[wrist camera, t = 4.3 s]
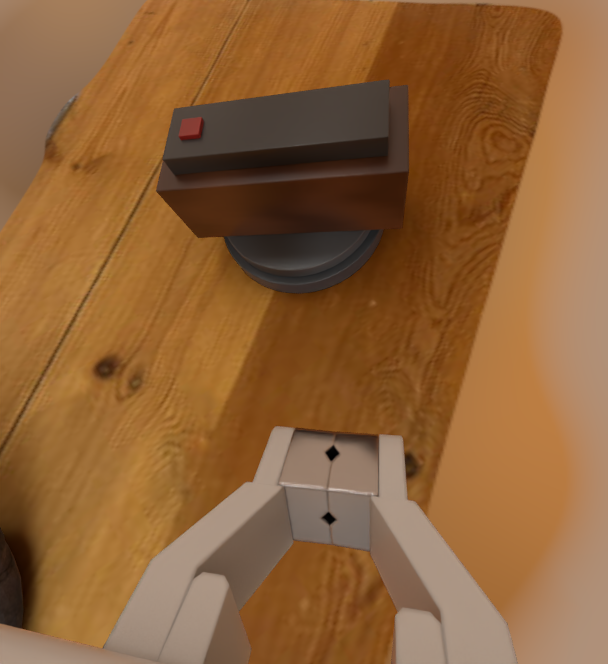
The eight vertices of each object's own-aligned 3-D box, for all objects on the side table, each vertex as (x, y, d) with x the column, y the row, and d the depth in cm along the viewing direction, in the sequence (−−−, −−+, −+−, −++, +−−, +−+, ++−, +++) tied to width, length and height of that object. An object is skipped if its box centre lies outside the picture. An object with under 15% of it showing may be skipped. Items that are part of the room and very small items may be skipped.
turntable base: (384, 293, 23) (384, 283, 22) (220, 294, 26) (210, 286, 24) (386, 148, 27) (386, 132, 25) (240, 162, 29) (233, 148, 28)
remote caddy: (401, 135, 25) (410, 17, 18) (401, 275, 22) (412, 199, 15) (220, 153, 28) (167, 58, 21) (198, 279, 25) (127, 216, 18)
